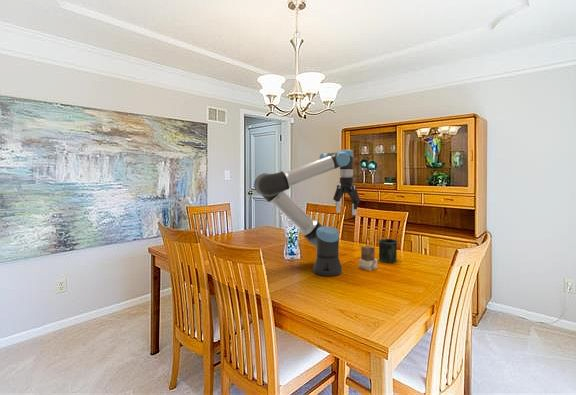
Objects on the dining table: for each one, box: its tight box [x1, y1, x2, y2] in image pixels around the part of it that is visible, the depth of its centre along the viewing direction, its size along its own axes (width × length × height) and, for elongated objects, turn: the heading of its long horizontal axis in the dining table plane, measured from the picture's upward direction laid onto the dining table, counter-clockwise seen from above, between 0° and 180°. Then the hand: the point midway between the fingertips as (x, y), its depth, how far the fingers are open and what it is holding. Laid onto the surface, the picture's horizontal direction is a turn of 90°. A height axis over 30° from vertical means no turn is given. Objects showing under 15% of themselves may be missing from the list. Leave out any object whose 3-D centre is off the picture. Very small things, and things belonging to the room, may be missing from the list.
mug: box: [378, 238, 398, 263], centre depth 193 cm, size 11×15×12 cm
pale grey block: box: [358, 258, 378, 271], centre depth 178 cm, size 7×7×5 cm
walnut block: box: [360, 245, 376, 261], centre depth 177 cm, size 5×5×7 cm
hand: (346, 213), depth 187 cm, fingers open, 13 cm apart
